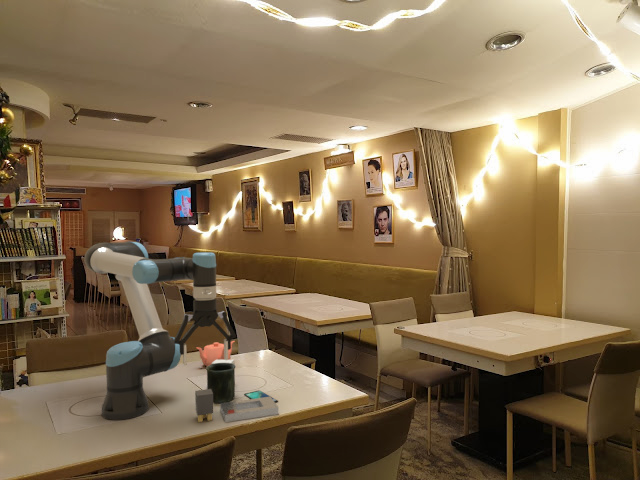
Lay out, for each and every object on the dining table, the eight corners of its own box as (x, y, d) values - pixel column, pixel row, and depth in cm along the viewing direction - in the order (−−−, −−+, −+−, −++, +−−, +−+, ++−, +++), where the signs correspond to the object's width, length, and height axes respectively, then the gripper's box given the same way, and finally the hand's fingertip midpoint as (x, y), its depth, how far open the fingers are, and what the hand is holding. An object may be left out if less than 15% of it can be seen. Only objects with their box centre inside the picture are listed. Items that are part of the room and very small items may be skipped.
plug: (197, 423, 153) (196, 395, 153) (195, 417, 158) (195, 390, 158) (213, 420, 155) (213, 393, 155) (211, 415, 160) (211, 388, 160)
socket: (225, 422, 154) (225, 413, 154) (220, 410, 164) (220, 402, 164) (278, 414, 160) (278, 405, 160) (270, 403, 170) (270, 395, 170)
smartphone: (261, 405, 167) (243, 393, 180) (261, 407, 167) (243, 395, 180) (279, 401, 172) (259, 389, 184) (279, 403, 172) (259, 391, 184)
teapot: (235, 361, 225) (235, 339, 225) (227, 370, 211) (226, 346, 211) (206, 361, 226) (205, 338, 226) (195, 370, 212) (195, 346, 212)
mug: (210, 406, 168) (209, 372, 168) (201, 393, 181) (201, 362, 181) (239, 401, 173) (239, 368, 173) (229, 389, 186) (228, 359, 186)
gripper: (166, 302, 149) (168, 369, 149) (244, 297, 159) (245, 360, 159) (164, 299, 156) (165, 363, 156) (239, 294, 166) (239, 354, 166)
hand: (205, 361), depth 158 cm, fingers open, 13 cm apart
